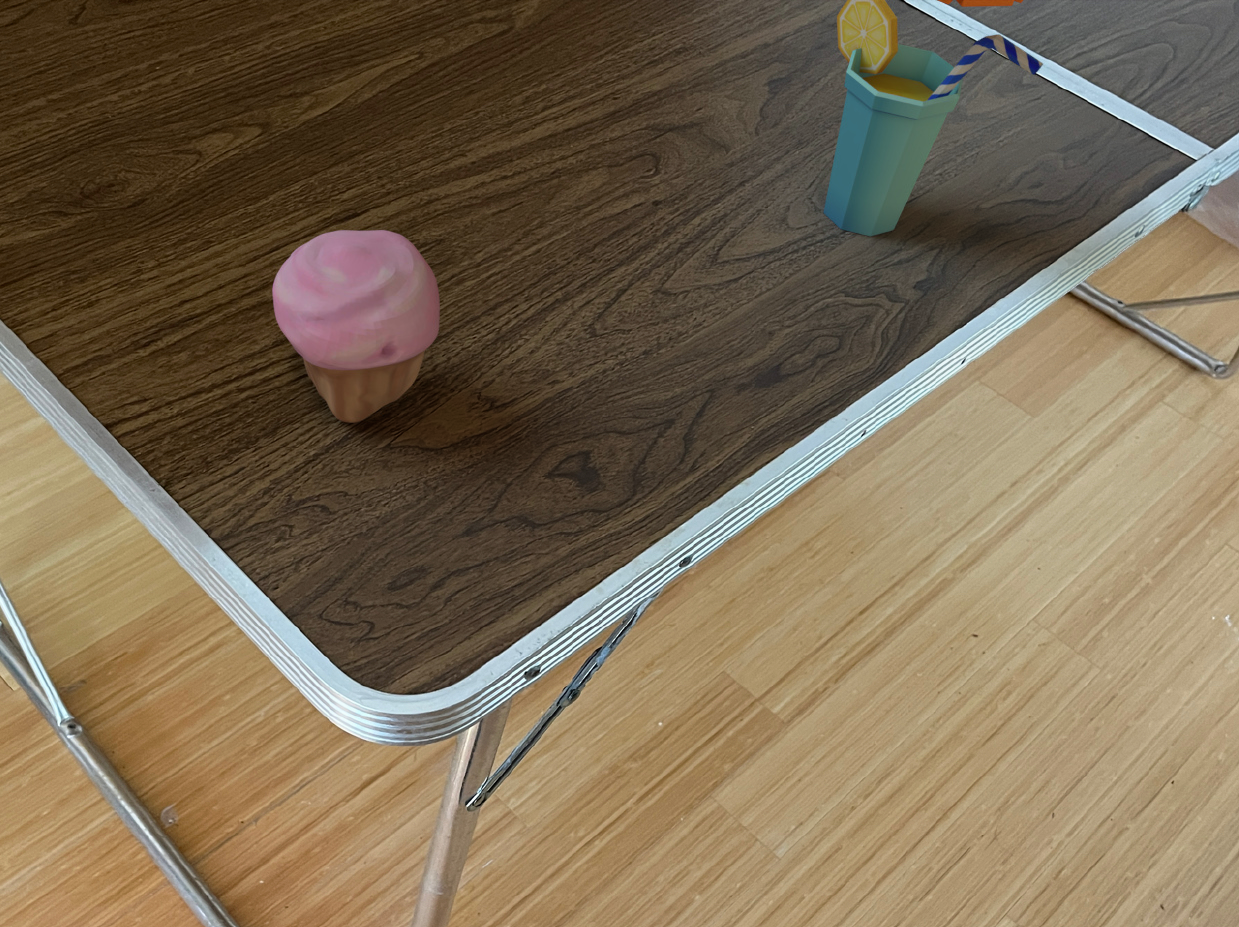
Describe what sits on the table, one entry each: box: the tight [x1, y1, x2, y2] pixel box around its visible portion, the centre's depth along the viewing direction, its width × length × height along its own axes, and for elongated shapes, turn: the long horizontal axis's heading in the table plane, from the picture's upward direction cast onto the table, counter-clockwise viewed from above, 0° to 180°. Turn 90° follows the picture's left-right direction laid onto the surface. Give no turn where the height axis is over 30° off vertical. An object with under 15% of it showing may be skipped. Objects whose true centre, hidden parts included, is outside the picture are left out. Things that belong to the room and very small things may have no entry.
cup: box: [823, 0, 1044, 237], centre depth 81 cm, size 14×8×15 cm, turn 50°
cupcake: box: [271, 229, 441, 424], centre depth 67 cm, size 9×9×10 cm
